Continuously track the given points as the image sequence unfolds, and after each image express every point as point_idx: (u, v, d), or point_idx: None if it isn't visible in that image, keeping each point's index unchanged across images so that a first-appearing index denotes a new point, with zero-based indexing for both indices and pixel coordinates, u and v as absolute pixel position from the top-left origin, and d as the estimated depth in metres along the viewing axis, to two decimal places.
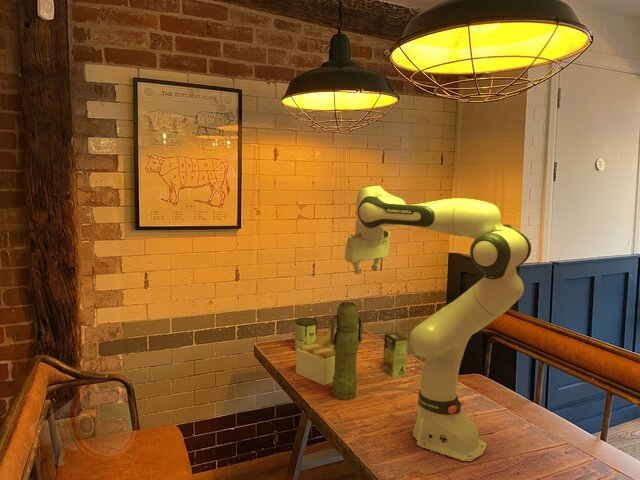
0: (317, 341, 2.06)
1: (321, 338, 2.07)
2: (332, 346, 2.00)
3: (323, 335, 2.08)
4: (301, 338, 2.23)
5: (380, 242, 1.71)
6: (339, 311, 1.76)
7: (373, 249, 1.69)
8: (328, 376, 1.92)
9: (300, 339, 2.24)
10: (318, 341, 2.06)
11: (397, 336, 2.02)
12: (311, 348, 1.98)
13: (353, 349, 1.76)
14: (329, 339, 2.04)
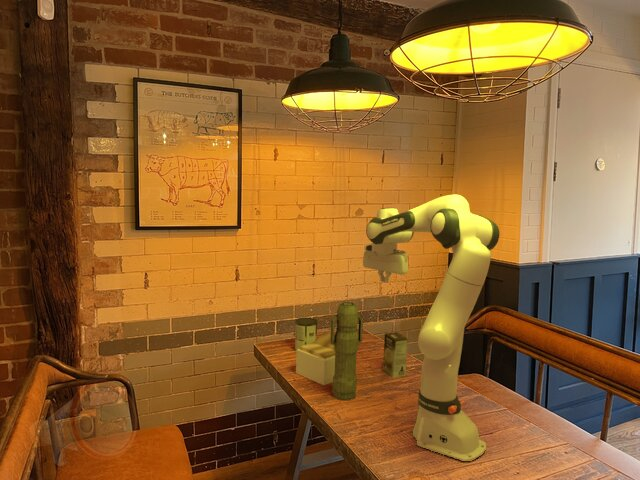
0: (317, 341, 2.06)
1: (321, 338, 2.07)
2: (332, 346, 2.00)
3: (323, 335, 2.08)
4: (301, 338, 2.23)
5: None
6: (339, 311, 1.76)
7: None
8: (328, 376, 1.92)
9: (300, 339, 2.24)
10: (318, 341, 2.06)
11: (397, 336, 2.02)
12: (311, 348, 1.98)
13: (353, 349, 1.76)
14: (329, 339, 2.04)
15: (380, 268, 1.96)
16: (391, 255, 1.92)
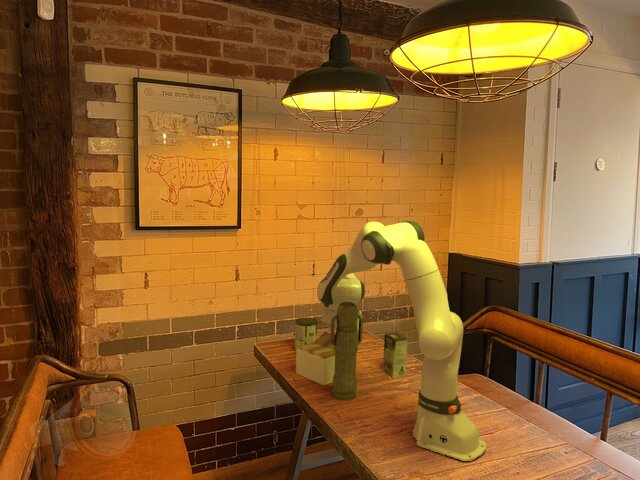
0: (317, 341, 2.06)
1: (321, 338, 2.07)
2: (332, 346, 2.00)
3: (323, 335, 2.08)
4: (301, 338, 2.23)
5: None
6: (339, 311, 1.76)
7: None
8: (328, 376, 1.92)
9: (300, 339, 2.24)
10: (318, 341, 2.06)
11: (397, 336, 2.02)
12: (311, 348, 1.98)
13: (353, 349, 1.76)
14: (329, 339, 2.04)
15: (336, 325, 2.01)
16: None
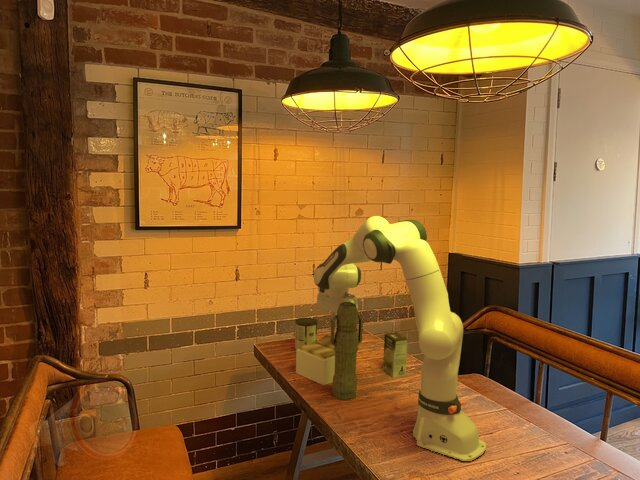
0: (318, 341, 2.06)
1: (322, 339, 2.07)
2: (333, 346, 2.00)
3: (324, 337, 2.09)
4: (301, 338, 2.23)
5: None
6: (339, 311, 1.76)
7: None
8: (328, 376, 1.92)
9: (300, 339, 2.24)
10: (319, 341, 2.06)
11: (397, 336, 2.02)
12: (311, 348, 1.98)
13: (353, 349, 1.76)
14: (330, 341, 2.05)
15: (332, 310, 2.03)
16: (342, 298, 1.99)
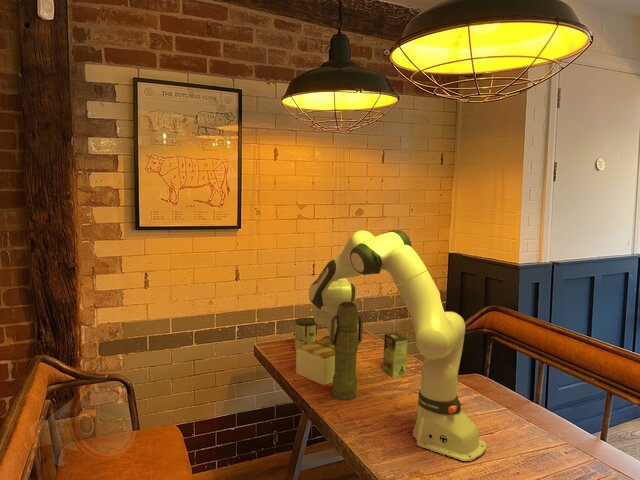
0: (318, 341, 2.06)
1: (322, 339, 2.07)
2: (333, 346, 2.00)
3: (324, 338, 2.09)
4: (301, 338, 2.23)
5: None
6: (339, 311, 1.76)
7: None
8: (328, 376, 1.92)
9: (300, 339, 2.24)
10: (319, 341, 2.06)
11: (397, 336, 2.02)
12: (311, 348, 1.98)
13: (353, 349, 1.76)
14: (330, 341, 2.05)
15: (329, 326, 2.06)
16: None
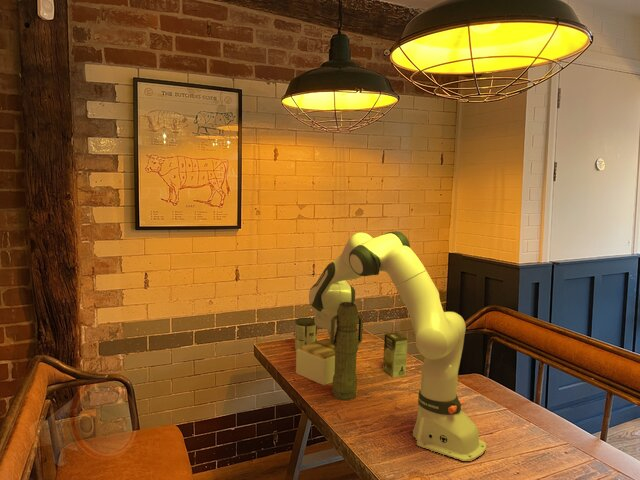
0: (318, 341, 2.06)
1: (322, 340, 2.07)
2: (333, 346, 2.01)
3: (325, 339, 2.09)
4: (301, 338, 2.23)
5: None
6: (339, 311, 1.76)
7: None
8: (328, 376, 1.92)
9: (300, 339, 2.24)
10: (319, 341, 2.06)
11: (397, 336, 2.02)
12: (311, 348, 1.98)
13: (353, 349, 1.76)
14: None
15: (329, 328, 2.07)
16: None
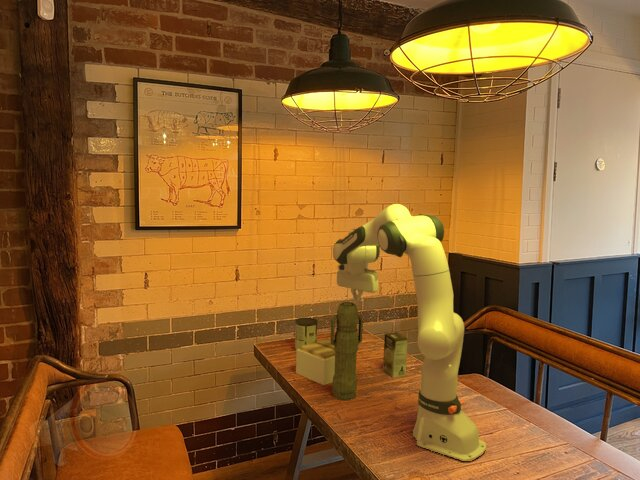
0: (318, 341, 2.06)
1: (322, 340, 2.07)
2: (333, 346, 2.01)
3: (325, 339, 2.09)
4: (301, 338, 2.23)
5: None
6: (339, 311, 1.76)
7: None
8: (328, 376, 1.92)
9: (300, 339, 2.24)
10: (319, 341, 2.06)
11: (397, 336, 2.02)
12: (311, 348, 1.98)
13: (353, 349, 1.76)
14: None
15: (352, 287, 2.05)
16: (362, 274, 2.01)
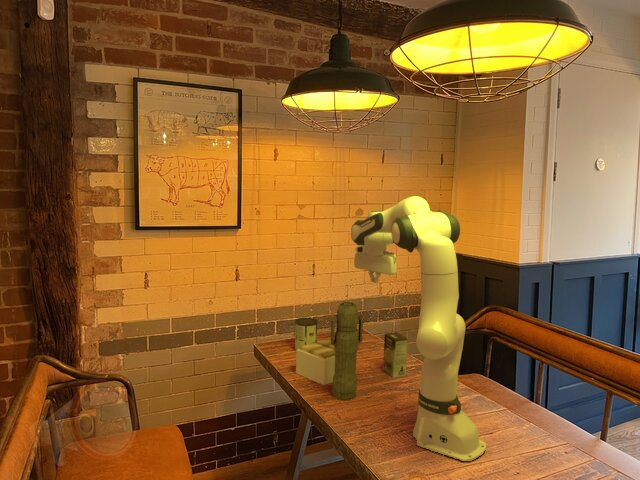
0: (318, 341, 2.06)
1: (322, 340, 2.07)
2: (333, 346, 2.01)
3: (325, 339, 2.09)
4: (301, 338, 2.23)
5: None
6: (339, 311, 1.76)
7: None
8: (328, 376, 1.92)
9: (300, 339, 2.24)
10: (319, 341, 2.06)
11: (397, 336, 2.02)
12: (311, 348, 1.98)
13: (353, 349, 1.76)
14: None
15: (370, 269, 2.05)
16: (381, 256, 2.01)
